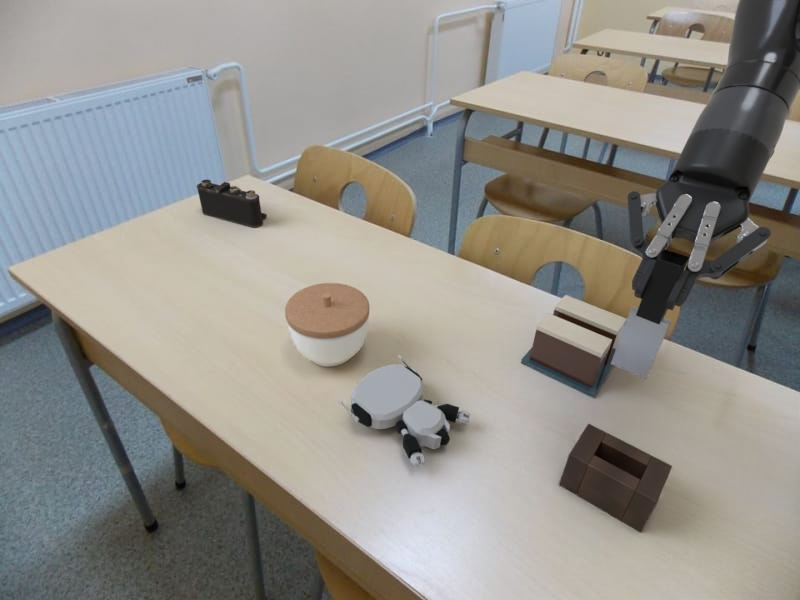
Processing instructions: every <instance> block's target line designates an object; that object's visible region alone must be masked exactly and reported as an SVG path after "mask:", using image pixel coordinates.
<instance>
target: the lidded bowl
mask: <svg viewBox="0 0 800 600" xmlns="http://www.w3.org/2000/svg"><path fill="white" fill-rule="evenodd" d="M370 308H371V307H370V302H369V300H368V297H367V296H366V295H365V294H364V293H363V292H362V291H361V290H360V289H357V288H356V287H353V286H351V285H349V284H344V283H338V282H322V283H316V284H312V285H309V286H307V287H304V288H302V289H300V290H298V291H297V292H294V294H293V295H292V296H291V297H290V298H289V299H288V300H287V302H286V304H285V307H284V317H285V320H286V324H287V328H288V333H289V337H290V339H291V342H292V343H293V346H294V347H295V348H296V350H297V352H298V353H300V355H301V356H303V357H304V358H305V359H306V360H309V361H310V362H313V363H314V364H316V365H318V366H320V367H327V368H329V367H337V366H341V365H342V364H343V365H344V364H345V363H346V362H348V361H349V360H350V359H351V358H352V357H354V356H355V355H357V353H358V352H359V351H360V350H361V348H362V347H363V345H364V343H365V341H366V339H367V335H368V331H369V321H370V320H369V319H370Z"/></svg>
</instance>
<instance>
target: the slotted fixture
mask: <svg viewBox="0 0 800 600" xmlns="http://www.w3.org/2000/svg"><path fill="white" fill-rule="evenodd" d="M626 320H627V317H624V316H621V315H619V314H615V313H614V312H611V311H608V310H606V309H603V308H600V307H598V306H595V305H593V304H590V303H588V302H586V301H583V300H580V299H578V298H575V297H572V296H570V295H567V294H565V295H564V296H563V297H562V298H561V299H560V300H559V301H558V302H557V303H556V304H555V306H554V309H553V313H552V314H551V313H550V312H548V313H546V315H545V316H544V317H543V318H542V319H541V321H540V322H539V323H538V324H537V325H536V328H535V333H534V338H533V342H532V346H531V347H530V349H529V350H528V351H527V352H526V353H525V354H524V356H523V357H522V358H521V359H520V364H523V365H525V366H526V367H529V368H530V369H532V370H535V371H537V372H538V373H541V374H543V375H546V376H548V377H549V378H551V379H554V380H556V381H557V382H560V383H561V384H563V385H566V386H568V387H570V388H572V389H574V390H577V391H578V392H580V393H582V394H585V395H587V396H589V397H590V398H593V399H595V398H596V396H597V395H598V393H599V391H600V390H601V389H602V387H603V386H604V384H605V382H606V381H607V379H608V378H609V376H610V374H612V372H613V370H614V369H615V367H616V366H614V365H612V364H611V361H612V359H613V356H614V353H615V350H616V348H617V345H618V342H619V339H620V337H621V334H622V331H623V328H624V325H625V323H626Z"/></svg>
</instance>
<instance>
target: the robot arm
mask: <svg viewBox="0 0 800 600" xmlns="http://www.w3.org/2000/svg"><path fill="white" fill-rule="evenodd" d="M734 15H735V16H734V19H733V25H732V30H731V37H730V42H729V47H728V54H727V62H726V63H727V64H726V67H725V69H724V70H723V72H722V74H721V77H720V79H718V83H717V84H716V87H715V89H714V91H713V92H712V95H711V96H710V99H709V101H708V102H707V104H706V105H705V107H704V108H703V110H702V111H701V113H700V114H699V116H698V118H697V119H696V121H695V124H694V126H693V128H692V130H691V132H690V134H689V136H688V138H687V140H686V142H685V144H684V147H683V148H682V150H681V152H680V154H679V157H678V159H677V161H676V163H675V165H674V167H673V169H672V171H671V173H670V175H669V177H668V178H667V181H666V182H665V183H664V184H662V185H661V186H659V187H658V188H657V190H656V192H651V193H645V194H641V193H640V192H639V191H636V190H635V191H631V192H629V193H628V195H627V209H628V223H629V224H628V225H629V241H630V250H631V251H632V253H634V254H637V255H638V256H639V257H640V258H641V260H640V261H641V262H640V263H639V265H638V267H637V269H636V272H635V274H634V276H633V278H632V280H631V290H633V291H634V292H633V293H634V297H635V298H637V299H640V300H642V298H643V295H644V292H645V290H646V287H647V284H648V282H649V279H650V276H651V274H652V270H653V268H654V265H655V262H656V260H657V258H658V256H659V255H660V254H661V252H662V251H663V249H666V250H668V248H669V247H670V246H671V244H672V243H673V241H674V239H683V240H684V239H685V240H687V241H688V242H690V243H692V244H693V247H692V250H691V253H690V256H689V259H688V262H687V264H686V266H685V269H684V270H682V273H681V275H680V277H679V279H678V281H677V282H676V284H675V286H674V288H673V290H672V292H671V294H670V296H669V298H668V300H667V303H666V306H665V308H667V309H668V310H670V311H674V309H675V307H679V308H681V307H683V306H684V305H685V304H686V303H687V300H688V298H689V296H690V293H691V291H692V289H693V286H694V285H695V283H696V281H698V279H699V280H700V279H701V278H710V279H711V280H719V279H720V278H722V277H724V275H726V274H728V273H729V272H730V271H732V270H733V269H734V268H736V267H737V266H738V265H740V264H741V263H743V262H744V261H745V260H747V259H748V258H749V257H751V256H752V255H753V254H755V253H756V252H758V251H759V250H760V249H762V248H763V247H764V246H765V245H766V243H767V242H768V240H769V238H770V236H771V234H772V232H771V230H770V228H768V227H766V226H759V225H757V224H756V223H755V222H754V221H753V220H751V219H750V218H749V217H750V208H749V203H750V202H751V199H752V197H753V195H754V194H755V193H754V192H755V191H756V189H757V187H758V184H759V183H760V180H761V179H762V176H763V174H764V172H765V169H766V168H767V166H768V164H769V162H770V160H771V158H772V157H773V155H774V153H775V149H776V147H777V144H778V142H779V140H780V138H781V136H782V132H783V130H784V126H785V123H786V119H787V117H788V114H789V112H790V110H791V108H792V107H793V104H794V102H795V100H796V98H797V96H798V94H799V92H800V0H738V3H737V6H736V10H735V13H734ZM653 206H655V207H656V210H657V213H658V217H659V221H660V226H659V228H657V229H658V230H657V231H656V234H655V235H654V237H653V238H652V240H651V242H649V241H647V240H646V239H645V237H644V226H643V217H646V216H648V215H649V214H650V210H651V208H652V207H653ZM737 229H739V232H738V234H737V237H736V239H735V242H736V244H735V245H733V246H731V247H730V248H729V249H728V250H726V251H725V252H724V253H722V254H720V255H719V256H718V257H717V258H716V259H715V260H711V261H710V260H705V258H706V256H707V253H708V249H709V246H710V244H711V243H714V242H715V241H717V240H719V239H721V238H723V237H724V236H726V235H728V234H730V233H732V232H734V231H736V230H737Z"/></svg>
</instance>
